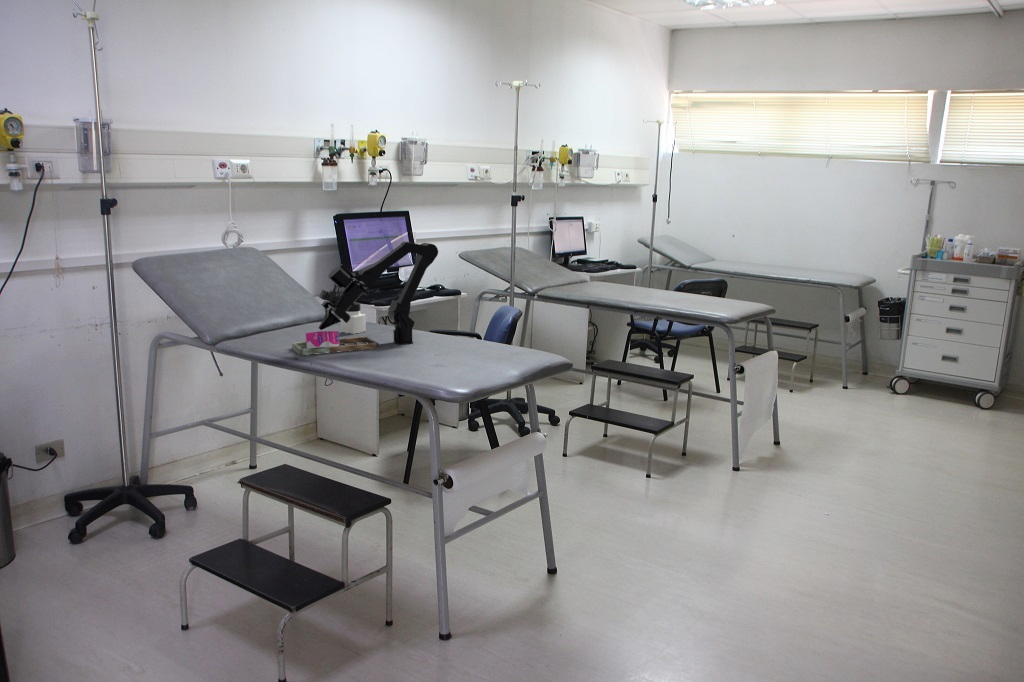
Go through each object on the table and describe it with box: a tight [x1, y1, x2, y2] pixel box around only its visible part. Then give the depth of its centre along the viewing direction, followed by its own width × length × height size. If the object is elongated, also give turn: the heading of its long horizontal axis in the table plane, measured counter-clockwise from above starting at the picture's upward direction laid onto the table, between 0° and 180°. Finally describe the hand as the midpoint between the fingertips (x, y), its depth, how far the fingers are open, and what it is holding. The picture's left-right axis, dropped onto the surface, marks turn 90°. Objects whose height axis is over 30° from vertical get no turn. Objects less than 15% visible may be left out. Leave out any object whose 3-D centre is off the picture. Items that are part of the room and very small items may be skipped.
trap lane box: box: [291, 336, 380, 357], centre depth 294 cm, size 28×14×2 cm, turn 117°
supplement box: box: [305, 330, 341, 349], centre depth 288 cm, size 6×6×12 cm
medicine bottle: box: [340, 301, 367, 335], centre depth 324 cm, size 7×7×12 cm
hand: (319, 329), depth 290 cm, fingers closed
